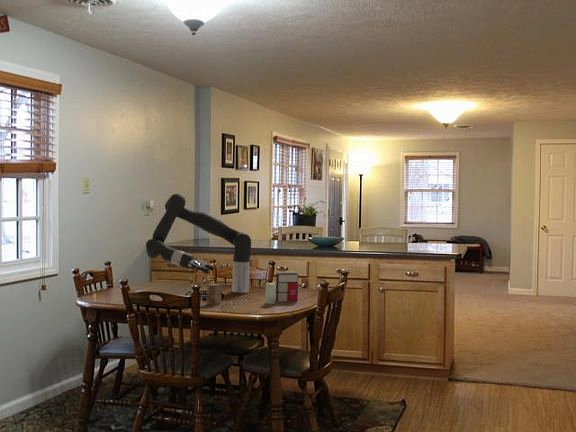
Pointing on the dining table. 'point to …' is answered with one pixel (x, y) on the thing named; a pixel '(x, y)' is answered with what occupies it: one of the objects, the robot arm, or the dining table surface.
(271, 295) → the sage cylinder
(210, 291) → the walnut block
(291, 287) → the miniature cabinet
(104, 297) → the dining table surface
